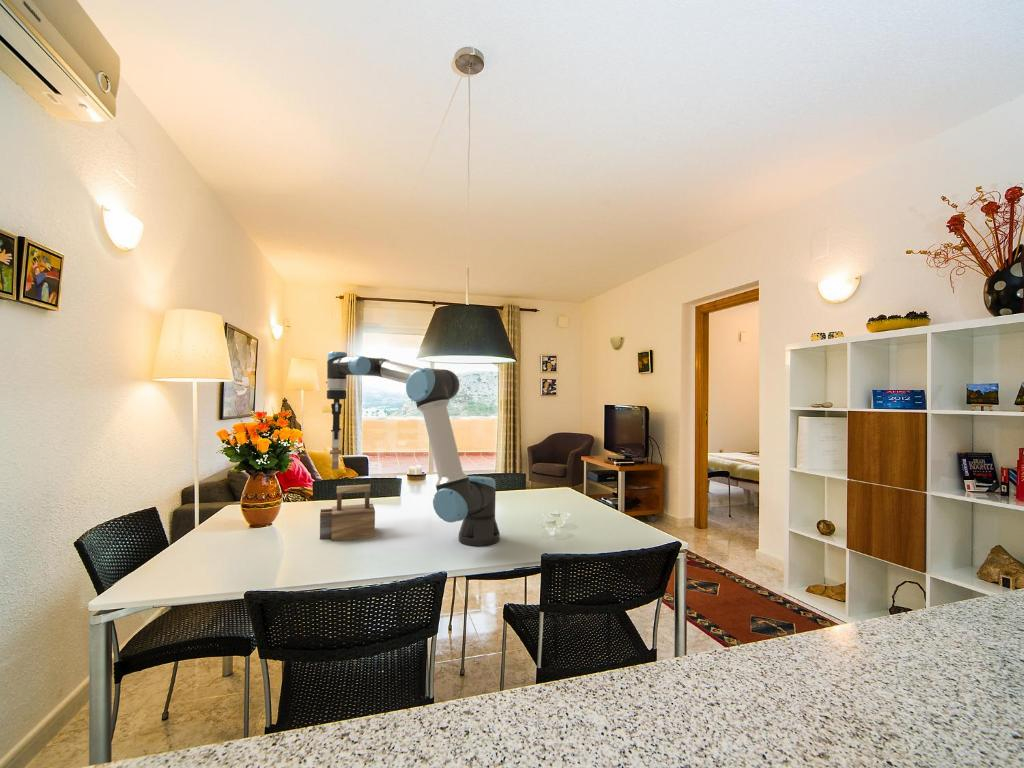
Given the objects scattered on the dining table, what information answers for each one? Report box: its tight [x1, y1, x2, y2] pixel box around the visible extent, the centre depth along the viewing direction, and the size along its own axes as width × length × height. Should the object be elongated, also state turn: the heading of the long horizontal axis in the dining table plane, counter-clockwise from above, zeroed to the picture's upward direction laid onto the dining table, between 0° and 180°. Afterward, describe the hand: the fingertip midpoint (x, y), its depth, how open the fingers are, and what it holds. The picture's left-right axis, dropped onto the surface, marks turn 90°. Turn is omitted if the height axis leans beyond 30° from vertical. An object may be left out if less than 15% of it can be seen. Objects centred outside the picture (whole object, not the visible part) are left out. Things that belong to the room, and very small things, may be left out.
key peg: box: [329, 446, 342, 470], centre depth 191 cm, size 4×4×16 cm
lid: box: [319, 483, 376, 519], centre depth 176 cm, size 12×19×10 cm, turn 110°
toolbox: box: [319, 514, 376, 542], centre depth 176 cm, size 12×19×8 cm, turn 110°
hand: (335, 446), depth 191 cm, fingers closed on key peg, 2 cm apart
